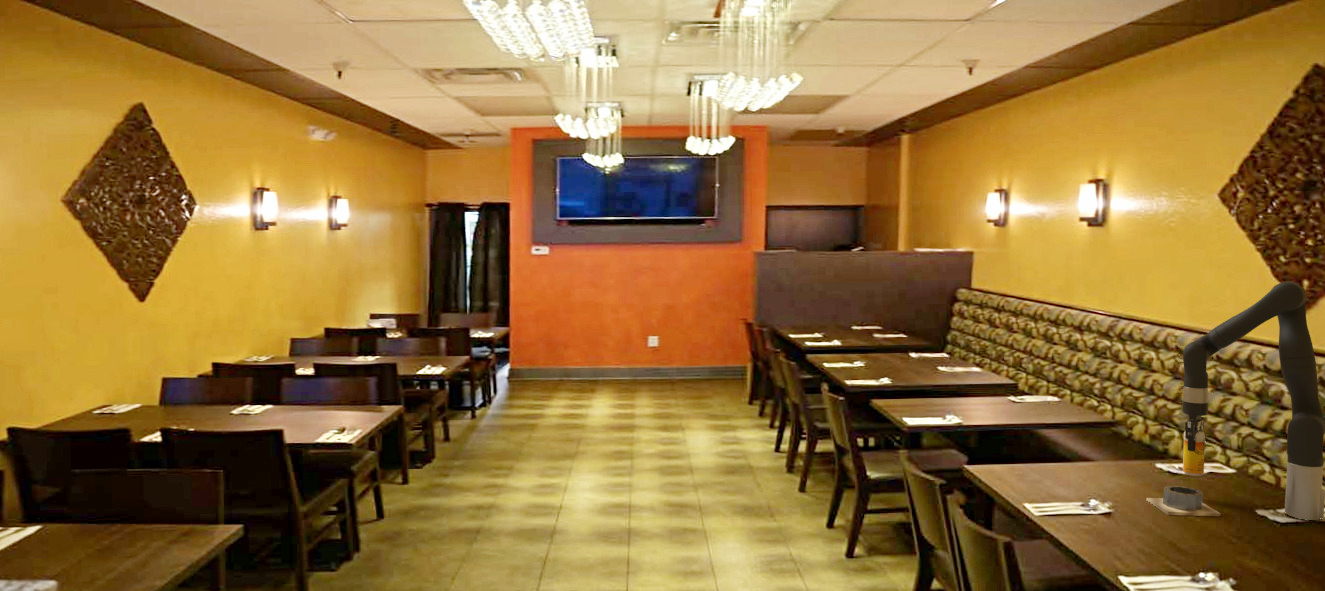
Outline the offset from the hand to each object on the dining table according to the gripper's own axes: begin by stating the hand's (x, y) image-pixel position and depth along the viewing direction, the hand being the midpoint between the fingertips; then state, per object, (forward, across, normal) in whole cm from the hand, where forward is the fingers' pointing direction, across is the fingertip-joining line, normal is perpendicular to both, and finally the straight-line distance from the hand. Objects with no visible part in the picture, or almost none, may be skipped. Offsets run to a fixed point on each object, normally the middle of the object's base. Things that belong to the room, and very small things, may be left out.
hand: (1194, 449), depth 301 cm
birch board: (+17, -15, -1) cm, 23 cm away
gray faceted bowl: (+17, -15, -1) cm, 23 cm away
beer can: (+9, 0, 0) cm, 9 cm away
